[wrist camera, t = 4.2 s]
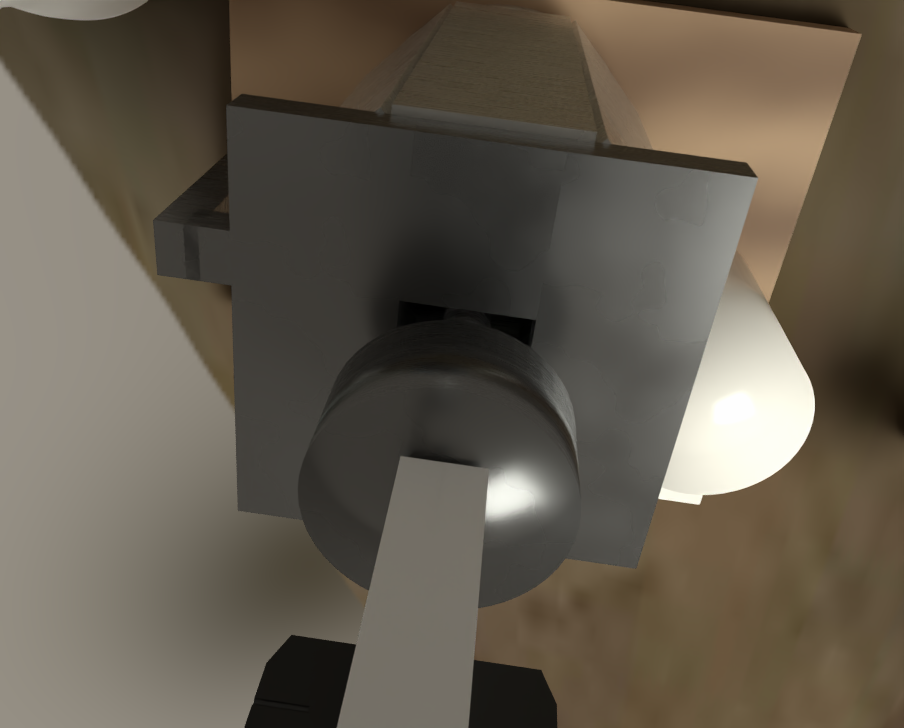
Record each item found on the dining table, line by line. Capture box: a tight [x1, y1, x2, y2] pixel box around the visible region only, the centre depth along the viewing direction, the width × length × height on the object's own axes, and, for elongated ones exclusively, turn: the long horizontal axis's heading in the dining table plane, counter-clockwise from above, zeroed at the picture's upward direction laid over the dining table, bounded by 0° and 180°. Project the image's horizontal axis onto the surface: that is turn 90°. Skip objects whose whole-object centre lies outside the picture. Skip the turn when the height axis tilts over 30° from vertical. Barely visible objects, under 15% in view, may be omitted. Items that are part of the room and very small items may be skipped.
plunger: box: [298, 307, 581, 608], centre depth 22 cm, size 8×8×18 cm
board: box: [229, 0, 862, 303], centre depth 36 cm, size 16×24×2 cm, turn 84°
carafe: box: [153, 1, 758, 568], centre depth 26 cm, size 11×14×18 cm
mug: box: [658, 251, 815, 505], centre depth 34 cm, size 9×7×9 cm
